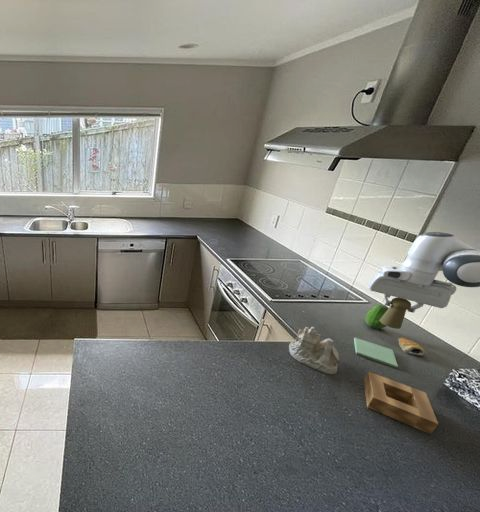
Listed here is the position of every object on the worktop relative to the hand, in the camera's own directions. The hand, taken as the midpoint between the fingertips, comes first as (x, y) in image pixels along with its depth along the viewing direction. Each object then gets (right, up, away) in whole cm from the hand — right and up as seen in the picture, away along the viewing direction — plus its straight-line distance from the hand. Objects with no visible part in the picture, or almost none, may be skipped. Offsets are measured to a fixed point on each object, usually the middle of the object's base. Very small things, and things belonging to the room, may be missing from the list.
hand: (398, 308), depth 106 cm
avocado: (+15, -14, +25) cm, 32 cm away
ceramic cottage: (-29, -20, +5) cm, 36 cm away
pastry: (+17, -19, +11) cm, 28 cm away
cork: (0, -7, +3) cm, 7 cm away
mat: (-1, -20, +8) cm, 22 cm away
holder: (-18, -29, -15) cm, 37 cm away
